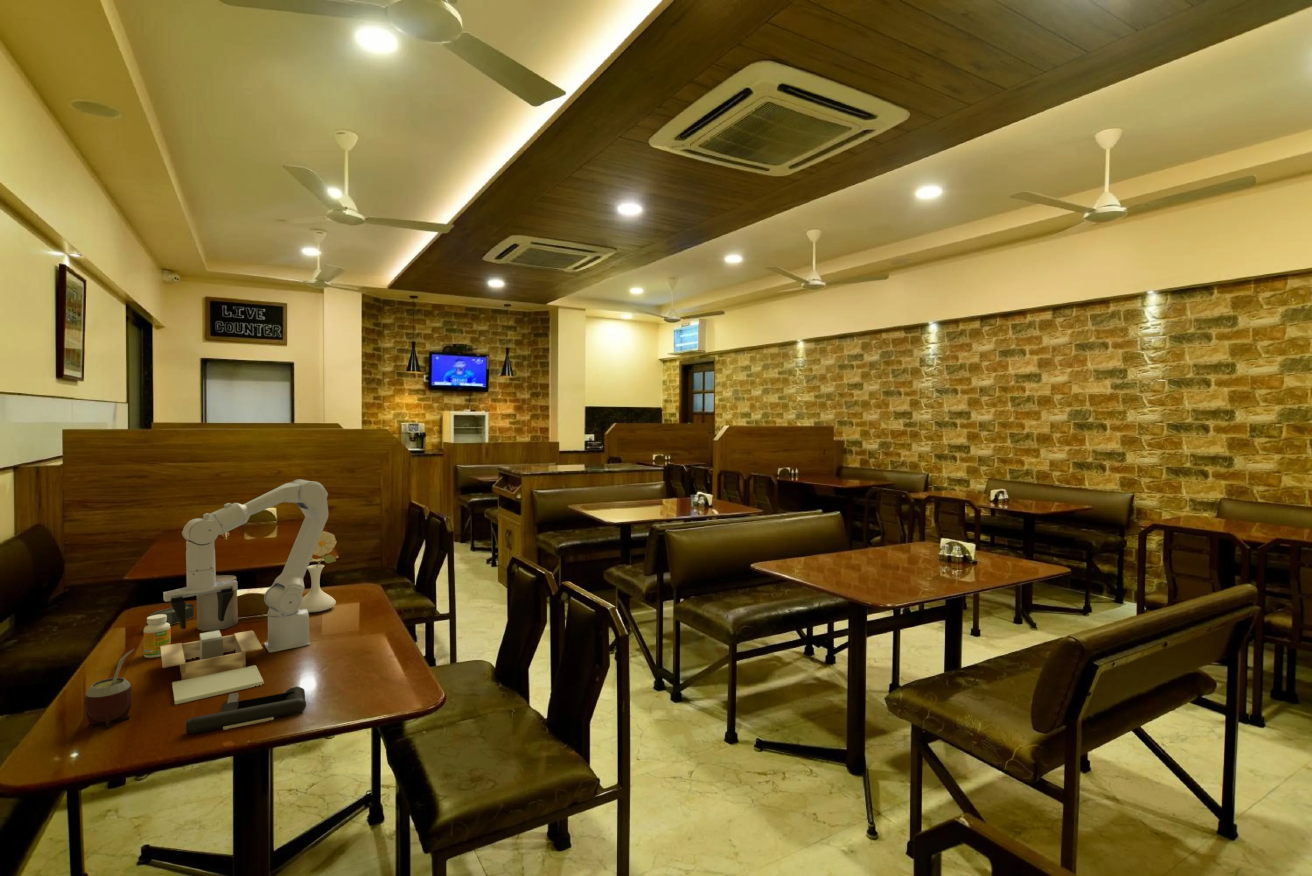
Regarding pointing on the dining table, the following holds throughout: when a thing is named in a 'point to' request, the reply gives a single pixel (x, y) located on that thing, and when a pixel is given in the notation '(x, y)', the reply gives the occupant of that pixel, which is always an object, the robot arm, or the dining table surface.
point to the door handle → (250, 711)
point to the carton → (182, 652)
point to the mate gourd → (109, 700)
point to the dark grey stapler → (172, 615)
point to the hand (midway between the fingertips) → (202, 624)
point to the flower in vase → (316, 596)
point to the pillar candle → (216, 609)
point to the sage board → (216, 684)
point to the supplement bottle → (156, 635)
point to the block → (211, 645)
